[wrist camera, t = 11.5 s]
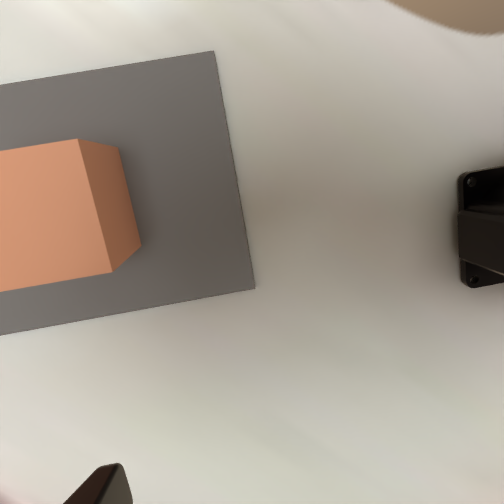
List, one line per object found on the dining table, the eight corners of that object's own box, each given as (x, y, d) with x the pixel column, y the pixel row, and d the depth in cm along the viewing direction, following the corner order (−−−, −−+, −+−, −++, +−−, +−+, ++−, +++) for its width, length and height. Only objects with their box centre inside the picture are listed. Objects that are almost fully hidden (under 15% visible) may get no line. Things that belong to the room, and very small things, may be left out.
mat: (213, 52, 17) (213, 50, 17) (254, 286, 20) (255, 288, 20) (-126, 107, 17) (-133, 106, 16) (-36, 340, 19) (-40, 342, 19)
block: (117, 147, 18) (77, 138, 13) (141, 245, 19) (112, 272, 14) (15, 164, 17) (-67, 161, 13) (45, 262, 19) (-19, 295, 14)
